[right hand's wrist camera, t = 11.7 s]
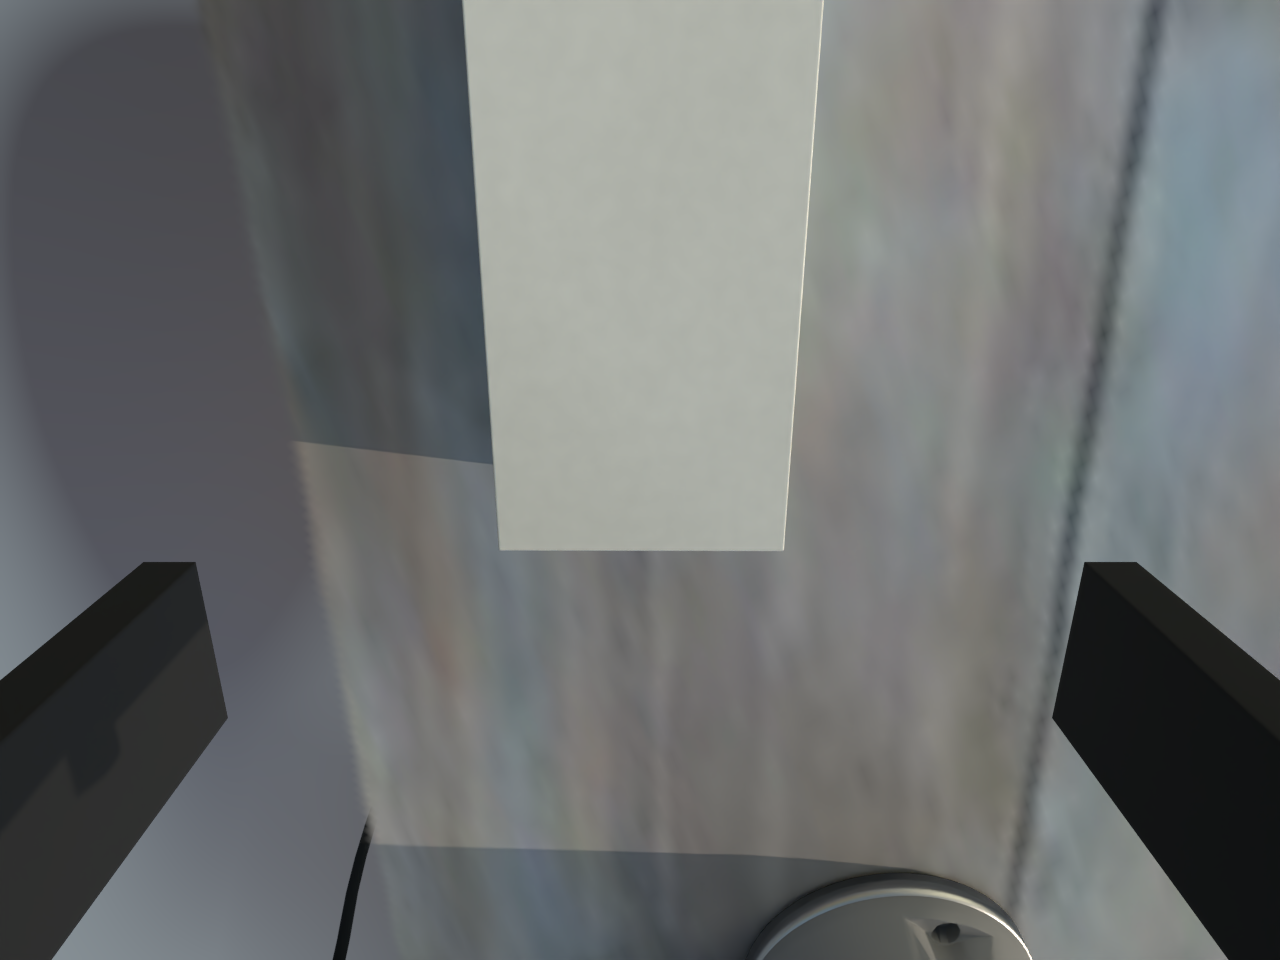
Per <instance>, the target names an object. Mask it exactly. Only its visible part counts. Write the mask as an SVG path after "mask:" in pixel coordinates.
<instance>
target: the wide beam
mask: <svg viewBox="0 0 1280 960" xmlns="http://www.w3.org/2000/svg"><path fill="white" fill-rule="evenodd" d="M823 3H824V0H462V8H463V23H464V38H465V53H466V68H467V83H468V98H469V113H470V128H471V142H472V157H473V172H474V187H475V202H476V217H477V232H478V247H479V262H480V277H481V292H482V306H483V321H484V336H485V351H486V366H487V381H488V396H489V411H490V426H491V441H492V456H493V470H494V485H495V500H496V515H497V530H498V545H499V550H527V551H783V550H784V540H785V526H786V512H787V499H788V485H789V471H790V457H791V443H792V430H793V416H794V402H795V388H796V375H797V361H798V347H799V333H800V320H801V306H802V292H803V278H804V265H805V251H806V237H807V223H808V210H809V196H810V182H811V168H812V155H813V141H814V127H815V113H816V99H817V86H818V72H819V58H820V44H821V31H822V17H823Z"/></svg>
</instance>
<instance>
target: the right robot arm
mask: <svg viewBox="0 0 1280 960" xmlns="http://www.w3.org/2000/svg"><path fill="white" fill-rule="evenodd" d="M227 718H228V717H227V712H226V707H225V702H224V697H223V693H222V688H221V683H220V678H219V673H218V669H217V664H216V659H215V654H214V649H213V644H212V640H211V635H210V630H209V625H208V620H207V615H206V611H205V606H204V601H203V596H202V591H201V587H200V582H199V577H198V572H197V567H196V563H195V562H143V563H142V564H141V565H140V566H138V567H137V568H136V569H135V570H133V571H132V572H131V573H130V574H129V575H127V576H126V577H125V578H124V579H123V580H121V581H120V582H119V583H118V584H116V585H115V586H114V587H113V588H112V589H111V590H109V591H108V592H107V593H106V594H104V595H103V596H102V597H101V598H100V599H98V600H97V601H96V602H95V603H93V604H92V605H91V606H90V607H89V608H87V609H86V610H85V611H84V612H83V613H81V614H80V615H79V616H78V617H77V618H75V619H74V620H73V621H72V622H70V623H69V624H68V625H67V626H66V627H64V628H63V629H62V630H61V631H60V632H58V633H57V634H56V635H55V636H53V637H52V638H51V639H50V640H49V641H47V642H46V643H45V644H44V645H43V646H41V647H40V648H39V649H38V650H37V651H35V652H34V653H33V654H32V655H30V656H29V657H28V658H27V659H26V660H24V661H23V662H22V663H21V664H20V665H18V666H17V667H16V668H15V669H14V670H12V671H11V672H10V673H9V674H8V675H6V676H5V677H4V678H3V679H1V680H0V960H52V958H53V957H54V956H55V954H56V953H57V951H58V950H59V949H60V947H61V946H62V945H63V943H64V942H65V940H66V939H67V938H68V936H69V935H70V934H71V932H72V931H73V929H74V928H75V927H76V925H77V924H78V923H79V921H80V920H81V918H82V917H83V916H84V914H85V913H86V912H87V910H88V909H89V908H90V906H91V905H92V903H93V902H94V901H95V899H96V898H97V896H98V895H99V894H100V892H101V891H102V890H103V888H104V887H105V886H106V884H107V883H108V881H109V880H110V879H111V877H112V876H113V875H114V873H115V872H116V870H117V869H118V868H119V866H120V865H121V864H122V862H123V861H124V859H125V858H126V857H127V855H128V854H129V853H130V851H131V850H132V848H133V847H134V846H135V844H136V843H137V842H138V840H139V839H140V838H141V836H142V835H143V833H144V832H145V831H146V829H147V828H148V826H149V825H150V824H151V822H152V821H153V820H154V818H155V817H156V816H157V814H158V813H159V811H160V810H161V809H162V807H163V806H164V805H165V803H166V802H167V800H168V799H169V798H170V796H171V795H172V794H173V792H174V791H175V789H176V788H177V787H178V785H179V784H180V783H181V781H182V780H183V779H184V777H185V776H186V774H187V773H188V772H189V770H190V769H191V768H192V766H193V765H194V763H195V762H196V761H197V759H198V758H199V757H200V755H201V754H202V752H203V751H204V750H205V748H206V747H207V746H208V744H209V743H210V742H211V740H212V739H213V737H214V736H215V735H216V733H217V732H218V731H219V729H220V728H221V726H222V725H223V724H224V722H225V721H226V720H227ZM1052 718H1053V720H1054V721H1055V722H1056V724H1057V725H1058V726H1059V728H1060V729H1061V731H1062V732H1063V733H1064V735H1065V736H1066V737H1067V739H1068V740H1069V742H1070V743H1071V744H1072V746H1073V747H1074V748H1075V750H1076V751H1077V753H1078V754H1079V755H1080V757H1081V758H1082V759H1083V761H1084V762H1085V763H1086V765H1087V766H1088V768H1089V769H1090V770H1091V772H1092V773H1093V774H1094V776H1095V777H1096V779H1097V780H1098V781H1099V783H1100V784H1101V785H1102V787H1103V788H1104V790H1105V791H1106V792H1107V794H1108V795H1109V796H1110V798H1111V799H1112V801H1113V802H1114V803H1115V805H1116V806H1117V807H1118V809H1119V810H1120V811H1121V813H1122V814H1123V816H1124V817H1125V818H1126V820H1127V821H1128V822H1129V824H1130V825H1131V827H1132V828H1133V829H1134V831H1135V832H1136V833H1137V835H1138V836H1139V838H1140V839H1141V840H1142V842H1143V843H1144V844H1145V846H1146V847H1147V849H1148V850H1149V851H1150V853H1151V854H1152V855H1153V857H1154V858H1155V860H1156V861H1157V862H1158V864H1159V865H1160V866H1161V868H1162V869H1163V870H1164V872H1165V873H1166V875H1167V876H1168V877H1169V879H1170V880H1171V881H1172V883H1173V884H1174V886H1175V887H1176V888H1177V890H1178V891H1179V892H1180V894H1181V895H1182V897H1183V898H1184V899H1185V901H1186V902H1187V903H1188V905H1189V906H1190V908H1191V909H1192V910H1193V912H1194V913H1195V914H1196V916H1197V917H1198V918H1199V920H1200V921H1201V923H1202V924H1203V925H1204V927H1205V928H1206V929H1207V931H1208V932H1209V934H1210V935H1211V936H1212V938H1213V939H1214V940H1215V942H1216V943H1217V945H1218V946H1219V947H1220V949H1221V950H1222V951H1223V953H1224V954H1225V956H1226V957H1227V958H1228V960H1280V680H1279V679H1277V678H1276V677H1275V676H1274V675H1273V674H1271V673H1270V672H1269V671H1268V670H1266V669H1265V668H1264V667H1263V666H1262V665H1260V664H1259V663H1258V662H1257V661H1256V660H1254V659H1253V658H1252V657H1251V656H1250V655H1248V654H1247V653H1246V652H1245V651H1243V650H1242V649H1241V648H1240V647H1239V646H1237V645H1236V644H1235V643H1234V642H1233V641H1231V640H1230V639H1229V638H1228V637H1227V636H1225V635H1224V634H1223V633H1222V632H1220V631H1219V630H1218V629H1217V628H1216V627H1214V626H1213V625H1212V624H1211V623H1210V622H1208V621H1207V620H1206V619H1205V618H1203V617H1202V616H1201V615H1200V614H1199V613H1197V612H1196V611H1195V610H1194V609H1193V608H1191V607H1190V606H1189V605H1188V604H1187V603H1185V602H1184V601H1183V600H1182V599H1180V598H1179V597H1178V596H1177V595H1176V594H1174V593H1173V592H1172V591H1171V590H1170V589H1168V588H1167V587H1166V586H1165V585H1164V584H1162V583H1161V582H1160V581H1159V580H1157V579H1156V578H1155V577H1154V576H1153V575H1151V574H1150V573H1149V572H1148V571H1147V570H1145V569H1144V568H1143V567H1142V566H1140V565H1139V564H1138V563H1137V562H1084V567H1083V572H1082V577H1081V582H1080V587H1079V591H1078V596H1077V601H1076V606H1075V611H1074V615H1073V620H1072V625H1071V630H1070V635H1069V640H1068V644H1067V649H1066V654H1065V659H1064V664H1063V668H1062V673H1061V678H1060V683H1059V688H1058V693H1057V697H1056V702H1055V707H1054V712H1053V717H1052ZM372 836H373V834H372V828H371V825H370V822H369V816H368V817H367V820H366V823H365V826H364V829H363V833H362V836H361V839H360V842H359V846H358V849H357V852H356V855H355V859H354V863H353V867H352V871H351V875H350V879H349V883H348V887H347V891H346V895H345V900H344V906H343V911H342V916H341V921H340V926H339V932H338V937H337V942H336V946H335V951H334V955H333V960H346V955H347V951H348V946H349V941H350V936H351V930H352V924H353V919H354V913H355V907H356V902H357V896H358V891H359V886H360V882H361V878H362V874H363V870H364V865H365V861H366V857H367V853H368V850H369V847H370V843H371V840H372ZM746 960H1032V958H1031V956H1030V954H1029V951H1028V949H1027V947H1026V945H1025V943H1024V941H1023V939H1022V937H1021V935H1020V933H1019V930H1018V928H1017V927H1016V925H1015V924H1014V922H1013V921H1012V919H1011V918H1010V917H1009V916H1008V915H1007V913H1006V912H1005V911H1004V910H1003V909H1002V908H1001V907H1000V906H998V905H997V904H996V903H995V902H994V901H992V900H991V899H989V898H988V897H987V896H985V895H983V894H982V893H980V892H978V891H976V890H974V889H972V888H970V887H968V886H966V885H963V884H960V883H957V882H954V881H952V880H948V879H944V878H940V877H935V876H929V875H923V874H911V873H888V874H876V875H869V876H862V877H858V878H853V879H849V880H845V881H842V882H838V883H835V884H832V885H830V886H827V887H824V888H822V889H819V890H817V891H815V892H813V893H811V894H809V895H807V896H805V897H803V898H802V899H800V900H798V901H796V902H795V903H793V904H792V905H790V906H789V907H787V908H786V909H785V910H784V911H782V912H781V913H780V914H779V915H777V916H776V917H775V918H774V919H773V920H772V921H771V922H770V923H769V924H768V925H767V926H766V927H765V929H764V930H763V931H762V932H761V933H760V935H759V936H758V938H757V939H756V941H755V942H754V944H753V945H752V947H751V949H750V951H749V953H748V956H747V959H746Z"/></svg>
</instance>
